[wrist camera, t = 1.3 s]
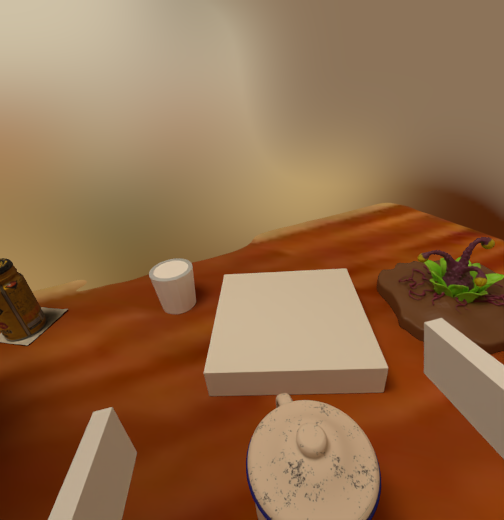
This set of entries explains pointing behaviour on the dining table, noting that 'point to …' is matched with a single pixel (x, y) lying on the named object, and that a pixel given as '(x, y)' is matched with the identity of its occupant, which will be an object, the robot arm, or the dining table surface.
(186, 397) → the dining table surface
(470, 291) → the plant
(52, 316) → the condiment
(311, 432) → the teacup with lid
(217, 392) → the plinth
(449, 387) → the robot arm
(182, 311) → the white cup
